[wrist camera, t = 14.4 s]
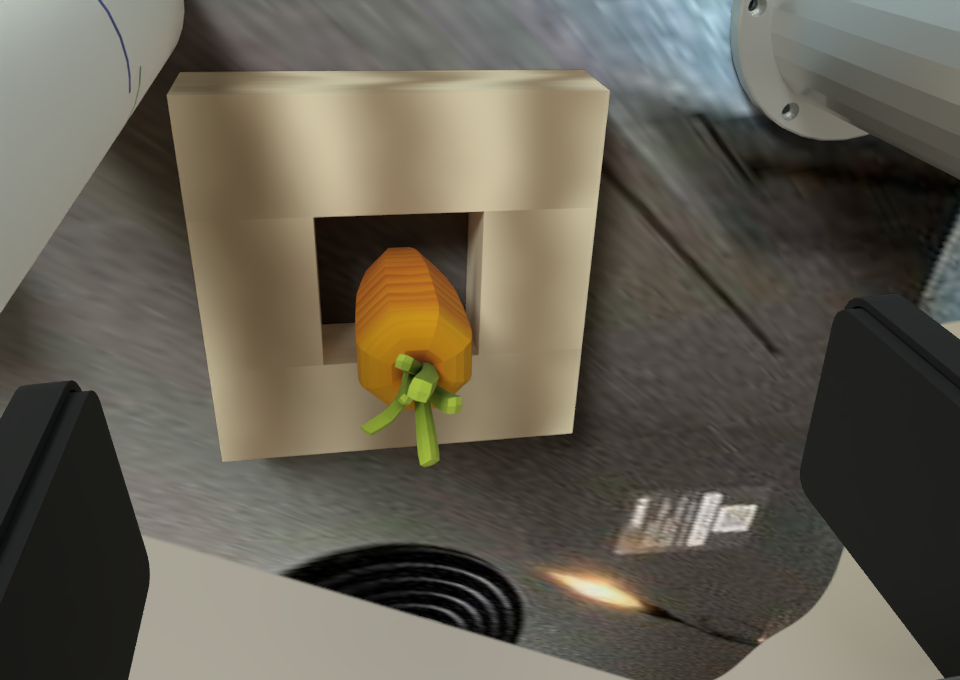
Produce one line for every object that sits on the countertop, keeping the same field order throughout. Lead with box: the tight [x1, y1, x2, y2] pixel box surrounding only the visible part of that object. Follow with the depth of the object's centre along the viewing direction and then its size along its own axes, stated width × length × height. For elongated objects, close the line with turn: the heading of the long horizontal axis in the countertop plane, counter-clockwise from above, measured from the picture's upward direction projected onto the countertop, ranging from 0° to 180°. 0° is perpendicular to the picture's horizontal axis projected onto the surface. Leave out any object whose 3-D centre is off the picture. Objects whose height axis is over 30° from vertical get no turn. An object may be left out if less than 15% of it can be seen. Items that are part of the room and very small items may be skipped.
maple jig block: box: [167, 70, 610, 462], centre depth 40 cm, size 18×18×4 cm
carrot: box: [355, 247, 472, 467], centre depth 35 cm, size 5×5×15 cm
